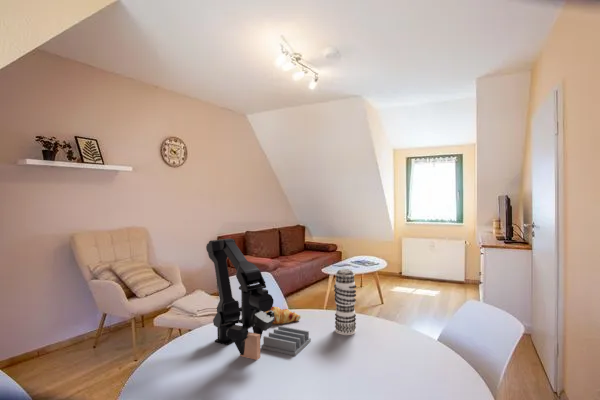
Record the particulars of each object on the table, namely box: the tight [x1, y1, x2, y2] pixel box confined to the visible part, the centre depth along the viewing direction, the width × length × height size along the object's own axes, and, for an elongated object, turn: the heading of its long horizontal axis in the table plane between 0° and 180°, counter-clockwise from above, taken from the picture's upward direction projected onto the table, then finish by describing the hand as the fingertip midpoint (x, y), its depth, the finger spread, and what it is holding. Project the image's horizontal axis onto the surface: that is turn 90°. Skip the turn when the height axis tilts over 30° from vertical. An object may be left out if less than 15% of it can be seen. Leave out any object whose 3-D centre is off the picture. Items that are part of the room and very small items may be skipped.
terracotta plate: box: [239, 331, 261, 361], centre depth 113 cm, size 7×2×8 cm, turn 64°
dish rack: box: [260, 325, 312, 357], centre depth 122 cm, size 14×13×4 cm
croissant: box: [266, 306, 302, 325], centre depth 146 cm, size 21×10×8 cm, turn 94°
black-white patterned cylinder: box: [333, 268, 357, 336], centre depth 135 cm, size 9×9×25 cm
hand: (250, 349), depth 113 cm, fingers open, 9 cm apart
